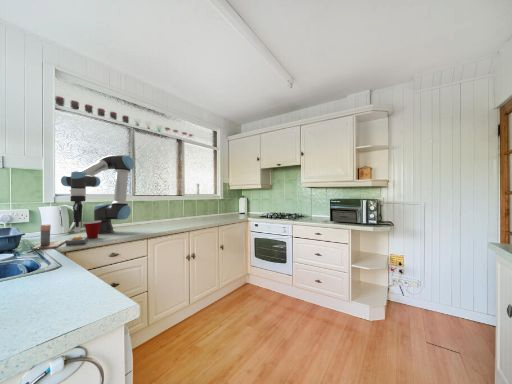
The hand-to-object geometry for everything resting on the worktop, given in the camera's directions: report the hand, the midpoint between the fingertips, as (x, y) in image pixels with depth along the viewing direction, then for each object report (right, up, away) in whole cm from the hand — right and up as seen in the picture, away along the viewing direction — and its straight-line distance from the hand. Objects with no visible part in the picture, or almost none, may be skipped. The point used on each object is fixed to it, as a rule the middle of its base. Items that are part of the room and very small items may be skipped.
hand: (77, 232), depth 141 cm
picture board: (-12, -7, -6) cm, 15 cm away
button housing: (0, -7, 0) cm, 7 cm away
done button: (0, -5, 0) cm, 5 cm away
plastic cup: (-4, -8, +17) cm, 19 cm away
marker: (-10, -6, -11) cm, 16 cm away
